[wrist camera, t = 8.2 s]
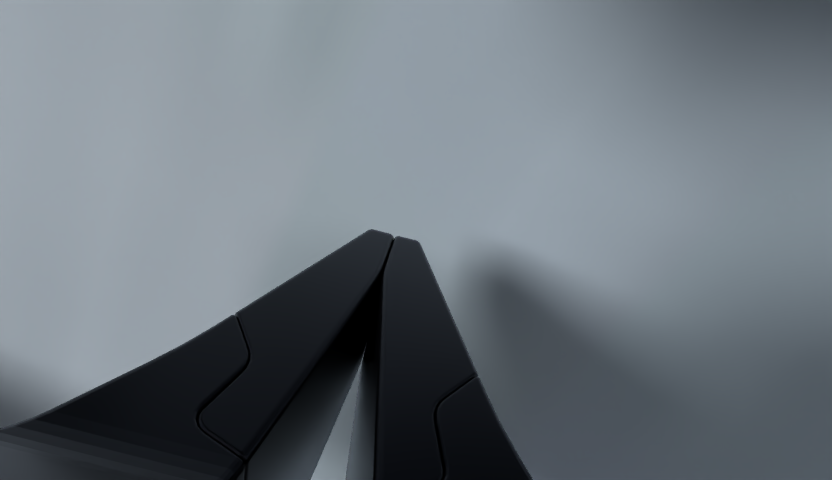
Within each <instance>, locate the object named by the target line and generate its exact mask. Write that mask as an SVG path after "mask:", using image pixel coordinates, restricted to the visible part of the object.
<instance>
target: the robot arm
mask: <svg viewBox="0 0 832 480" xmlns="http://www.w3.org/2000/svg"><path fill="white" fill-rule="evenodd" d="M364 351H365V352H364ZM363 354H364V357H363ZM362 357H363V361H362V366H361V372H360V379H359V386H358V393H357V400H356V407H355V415H354V422H353V429H352V436H351V444H350V451H349V458H348V465H347V472H346V480H533V479H532V477H531V476H530V474H529V472H528V471H527V469H526V467H525V466H524V464H523V462H522V461H521V459H520V457H519V455H518V454H517V452H516V450H515V448H514V447H513V445H512V443H511V441H510V439H509V438H508V436H507V434H506V432H505V431H504V429H503V427H502V425H501V423H500V421H499V419H498V417H497V415H496V413H495V411H494V409H493V407H492V404H491V402H490V400H489V398H488V396H487V394H486V392H485V389H484V387H483V385H482V382H481V380H480V378H478V374H477V371H476V369H475V367H474V365H473V362H472V360H471V358H470V356H469V353H468V351H467V349H466V347H465V344H464V342H463V340H462V337H461V335H460V333H459V331H458V328H457V326H456V324H455V322H454V319H453V317H452V315H451V313H450V310H449V308H448V306H447V303H446V301H445V299H444V297H443V294H442V292H441V290H440V288H439V285H438V283H437V281H436V279H435V276H434V274H433V272H432V269H431V267H430V265H429V263H428V260H427V258H426V256H425V254H424V251H423V249H422V247H421V245H420V243H419V242H418V241H416V240H412V239H408V238H404V237H400V236H397V237H395V238H393V236H392V235H391V234H388V233H385V232H381V231H377V230H373V229H371V230H368V231H366V232H365V233H363V234H362V235H360V236H358V237H357V238H355V239H354V240H352V241H350V242H349V243H347V244H346V245H344V246H342V247H341V248H339V249H337V250H336V251H334V252H333V253H331V254H329V255H328V256H326V257H325V258H323V259H321V260H320V261H318V262H317V263H315V264H313V265H312V266H310V267H309V268H307V269H305V270H304V271H302V272H301V273H299V274H297V275H296V276H294V277H293V278H291V279H289V280H288V281H286V282H285V283H283V284H281V285H280V286H278V287H276V288H275V289H273V290H272V291H270V292H268V293H267V294H265V295H264V296H262V297H260V298H259V299H257V300H256V301H254V302H252V303H251V304H249V305H248V306H246V307H244V308H243V309H241V310H240V311H238V312H237V313H236V314H235V315H231V316H230V317H228V318H226V319H225V320H223V321H222V322H220V323H218V324H217V325H215V326H213V327H212V328H210V329H208V330H207V331H205V332H203V333H201V334H200V335H198V336H196V337H195V338H193V339H191V340H189V341H188V342H186V343H184V344H183V345H181V346H179V347H177V348H175V349H173V350H171V351H169V352H167V353H165V354H163V355H161V356H159V357H157V358H155V359H153V360H151V361H149V362H148V363H146V364H143V365H141V366H139V367H137V368H135V369H133V370H131V371H129V372H127V373H125V374H123V375H121V376H119V377H117V378H115V379H113V380H111V381H108V382H106V383H104V384H102V385H100V386H98V387H96V388H94V389H92V390H90V391H88V392H86V393H84V394H82V395H80V396H78V397H75V398H73V399H71V400H69V401H67V402H65V403H63V404H61V405H59V406H57V407H55V408H53V409H51V410H49V411H46V412H44V413H42V414H40V415H37V416H35V417H33V418H31V419H28V420H25V421H22V422H20V423H17V424H14V425H11V426H8V427H4V428H1V429H0V480H310V479H311V477H312V475H313V472H314V470H315V468H316V466H317V463H318V461H319V459H320V456H321V454H322V452H323V449H324V447H325V445H326V442H327V440H328V438H329V436H330V433H331V431H332V429H333V426H334V424H335V422H336V419H337V417H338V415H339V413H340V410H341V408H342V406H343V403H344V401H345V399H346V396H347V394H348V392H349V389H350V387H351V385H352V383H353V380H354V378H355V376H356V373H357V371H358V368H359V366H360V363H361V360H362Z"/></svg>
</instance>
